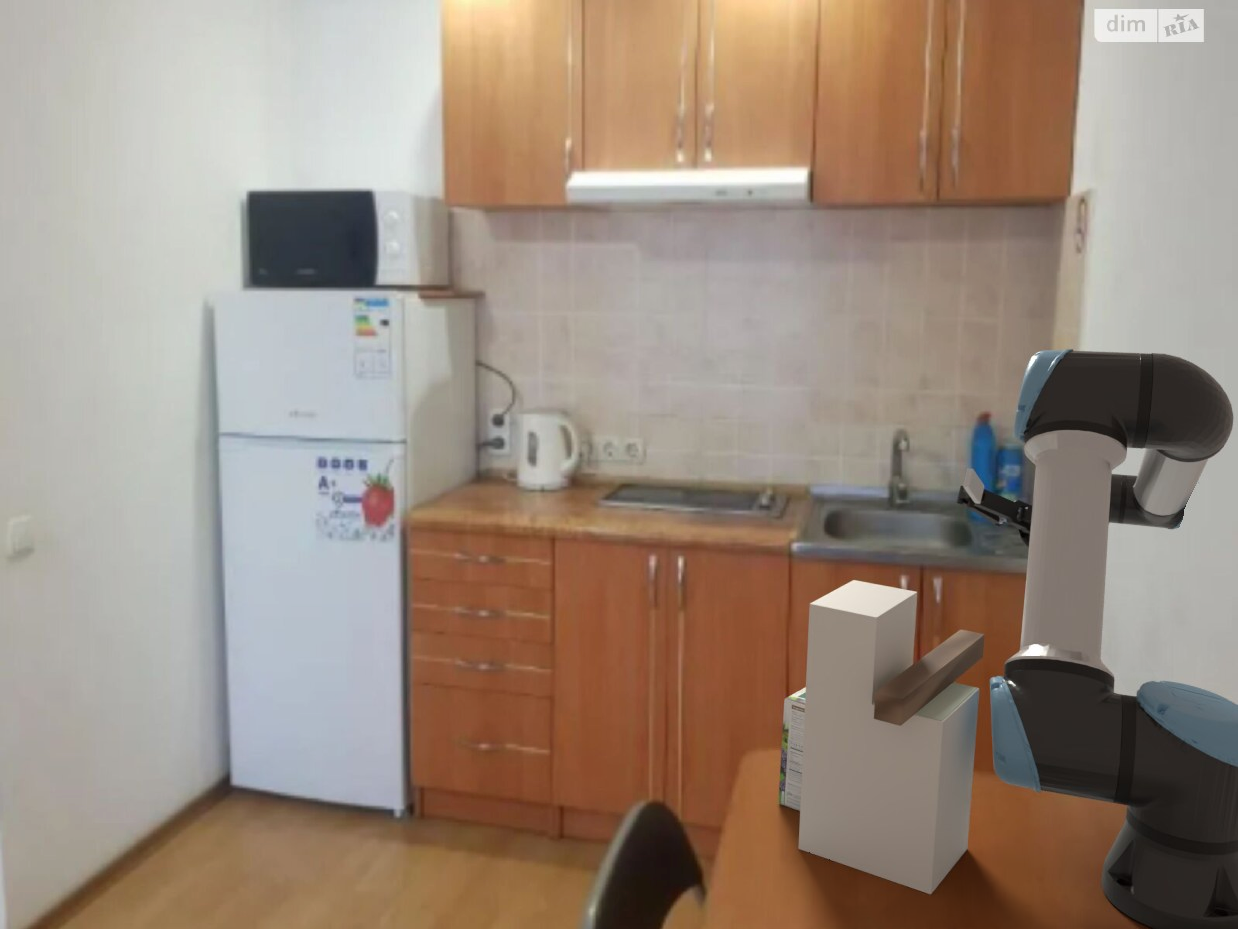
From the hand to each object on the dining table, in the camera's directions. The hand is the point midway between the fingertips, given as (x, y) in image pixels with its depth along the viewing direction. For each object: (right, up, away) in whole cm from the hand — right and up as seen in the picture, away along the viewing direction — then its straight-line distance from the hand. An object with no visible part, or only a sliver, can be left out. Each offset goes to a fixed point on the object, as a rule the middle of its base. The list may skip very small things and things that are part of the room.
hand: (1019, 483), depth 146 cm
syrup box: (-28, -41, -4) cm, 50 cm away
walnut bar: (-16, -23, -18) cm, 33 cm away
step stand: (-21, -43, -15) cm, 50 cm away
